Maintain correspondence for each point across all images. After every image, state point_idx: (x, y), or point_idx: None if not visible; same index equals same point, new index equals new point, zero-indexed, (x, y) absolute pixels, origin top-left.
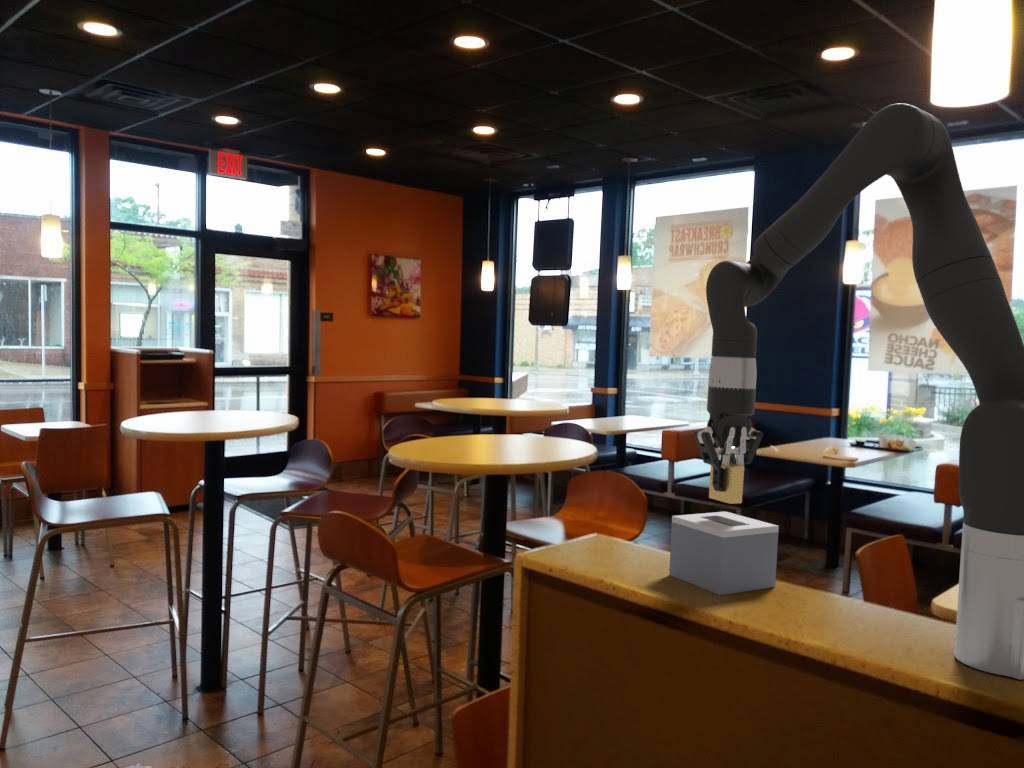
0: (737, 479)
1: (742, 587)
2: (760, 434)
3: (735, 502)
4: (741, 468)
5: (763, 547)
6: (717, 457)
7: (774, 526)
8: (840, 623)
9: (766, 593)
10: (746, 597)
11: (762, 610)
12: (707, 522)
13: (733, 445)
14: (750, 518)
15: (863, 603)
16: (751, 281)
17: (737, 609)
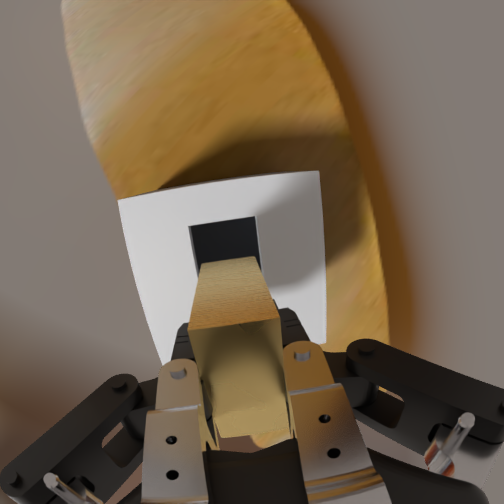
0: (232, 293)
1: (233, 177)
2: (12, 480)
3: (232, 259)
4: (210, 320)
5: (176, 187)
6: (371, 365)
7: (132, 197)
8: (187, 32)
9: (190, 167)
10: (240, 156)
11: (259, 97)
12: (292, 269)
13: (249, 457)
14: (141, 292)
15: (82, 100)
16: None
17: (295, 112)
